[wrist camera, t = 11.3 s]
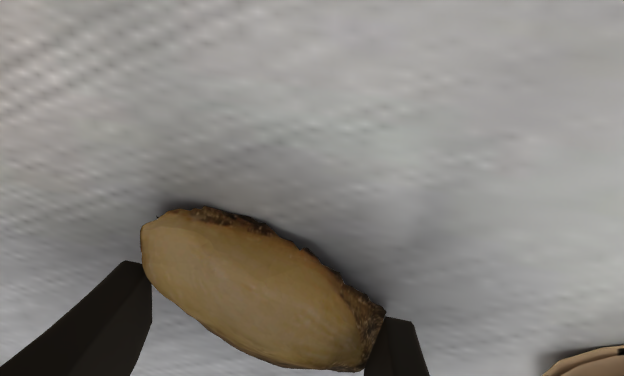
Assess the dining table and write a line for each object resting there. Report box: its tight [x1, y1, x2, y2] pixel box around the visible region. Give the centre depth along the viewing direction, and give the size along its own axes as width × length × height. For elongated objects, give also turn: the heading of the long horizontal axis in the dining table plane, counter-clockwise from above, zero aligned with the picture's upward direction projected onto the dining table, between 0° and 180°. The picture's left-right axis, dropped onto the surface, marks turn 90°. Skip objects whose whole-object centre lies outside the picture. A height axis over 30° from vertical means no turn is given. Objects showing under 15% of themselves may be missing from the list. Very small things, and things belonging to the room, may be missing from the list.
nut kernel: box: [140, 206, 386, 373], centre depth 12 cm, size 6×5×3 cm
